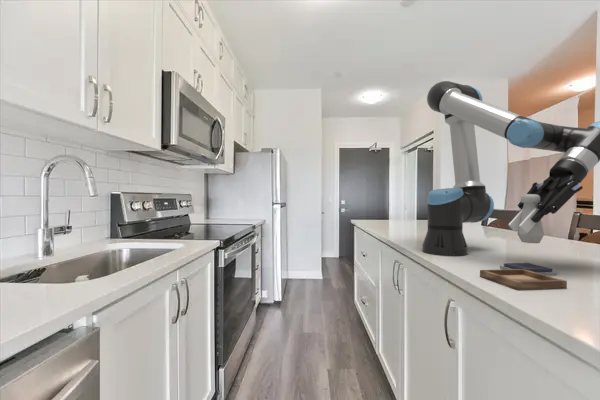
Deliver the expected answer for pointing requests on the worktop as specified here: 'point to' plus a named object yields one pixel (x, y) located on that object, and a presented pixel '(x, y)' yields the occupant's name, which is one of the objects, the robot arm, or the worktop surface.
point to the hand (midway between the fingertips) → (517, 228)
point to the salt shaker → (529, 204)
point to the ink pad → (529, 268)
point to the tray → (523, 279)
